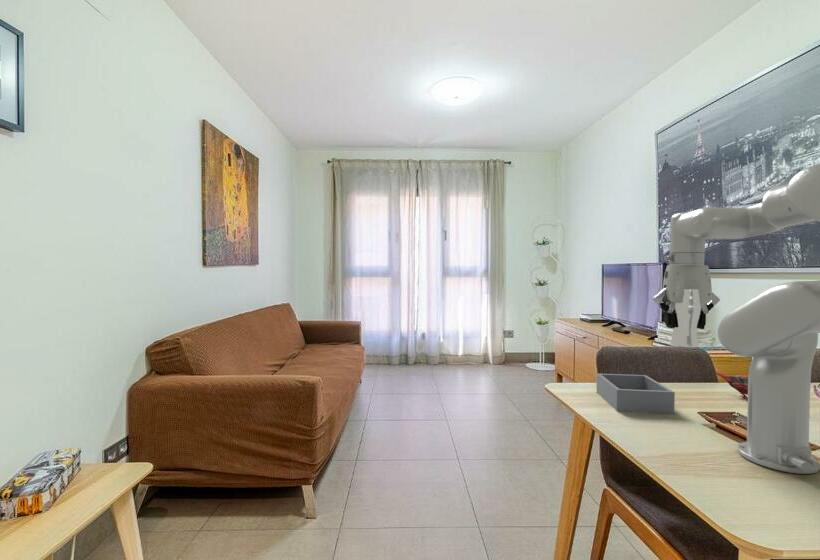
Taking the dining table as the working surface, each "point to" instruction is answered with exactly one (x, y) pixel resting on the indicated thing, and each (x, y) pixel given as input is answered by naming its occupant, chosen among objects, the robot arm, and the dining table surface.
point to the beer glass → (687, 319)
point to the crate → (635, 393)
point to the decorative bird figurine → (737, 383)
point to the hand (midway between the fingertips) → (684, 327)
